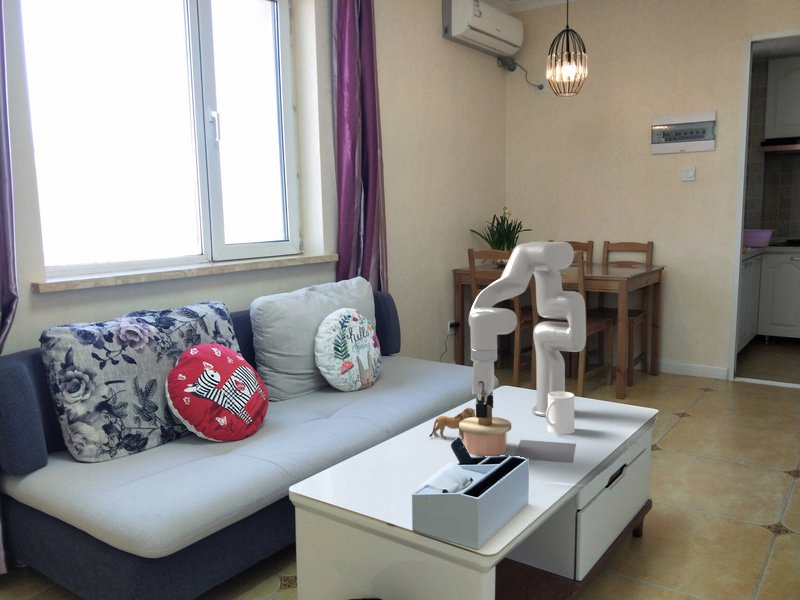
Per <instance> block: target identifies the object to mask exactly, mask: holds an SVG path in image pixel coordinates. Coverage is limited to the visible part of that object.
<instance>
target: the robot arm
mask: <svg viewBox="0 0 800 600" xmlns="http://www.w3.org/2000/svg"><path fill="white" fill-rule="evenodd" d="M574 257H575V251H574V248H573V246H572V244H570V243H569V242H568V241H567V242H566V241H530V242H526V243H519V244H518V245H516V246H515V247H514V248H513V250H512V251H511V254H510V257H509V259H508V261H507V263H506V264H505V268H504V269H503V271H502V273H501V275H500V278H499V279H497V280H495V281H493V282H492V283H490V284H489V285H488V286H486V287H485V288H484V289H483V290H481V291H480V293H478V295H477V296H476V298H475V300H474V302H473V304H472V306H471V309H470V311H469V313H468V314H469V315H468V326H469V327H470V360H471V361H472V362H473V365H472V385H471V386H472V388H471V393H472V396H475V397H476V398H475V417H477V418H487V405H489V406H492V409H494V389H495V362H497V360H498V335H509V334H511V333H512V332H514V331H515V329H516V328H517V325H518V318H517V314H516V313H515V311H513V310H511V309H510V308H503V307H502V308H501V307H493V306H495V305H496V304H498V303H499V302H503V301H505V300H508V299H511V298H515V297H517V296H519V295H521V294H523V293H524V292H526V290H527V289H528V285H529V283H530V281H531V278H532V277H533V276H534V279H535V296H536V298H535V299H536V308H537V309H536V310H537V314H538V315H539V316H540V317H542V318H545V319H551V320H553V319H554V320H566V321H567V322H561V321H541V322H539V323H538V324H536V325H535V326H534V328H533V332H532V333H533V334H532V335H533V343H534V348H535V357H536V358H535V359H536V360H535V361H536V363H535V364H536V405H535V406H532V408H531V413H532V414H534V415H536V416H540V417H543V418H544V417H545V418H546V411H547V408H548V393H550V392H557V391H562V392H566V386H565V385H566V384H565V382H566V376H565V375H566V374H565V373H566V372H565V371H566V364H565V363H566V362H565V359H564V357H563V355H562V354H561V352H571V353H572V352H574V353H578V352H581V351H583V350H584V349H585V347H586V341H587V322H586V321H587V320H586V319H587V318H586V302H585V299H584V297H583V295H582V294H581V293H580V292H577V291H574V290H571V291H570V290H563V285H562V275H561V272H560V270H565V269H567V268H569V267H570V266H571V265H572V263H573V262H574V259H575V258H574ZM560 351H561V352H560Z"/></svg>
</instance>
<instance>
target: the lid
mask: <svg viewBox="0 0 800 600" xmlns="http://www.w3.org/2000/svg"><path fill="white" fill-rule="evenodd" d="M459 428H460V429H461V430H462V431H464V432H466V433H470V434H475V435H497V434H502V433H506V432H507V433H508V432H509V431H511V430H512V422H511V421H510V420H508V419H506V418H502V417H499V416H498V417H497V416H493V408H492V406H489V405H487V418H477V417H476V416H475V417H470V418H466V419H464V420H462V421H460V423H459ZM459 428H458V429H459Z"/></svg>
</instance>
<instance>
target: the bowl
mask: <svg viewBox="0 0 800 600" xmlns="http://www.w3.org/2000/svg"><path fill="white" fill-rule="evenodd" d="M507 433H508V432H506V433H502V434H497V435H475V434H470V433H466V432H464V439H463V446H464V445H465V446H466V448H467V450H468V451H469V453H468V454H471V455H474V456H479V457H480V456H481V457H488V456H487V455H493V456H499V455H501V454H503V453H504V454H505V453H506V452H507V449H508V448H507V446H508V443H507V440H508V437H507V435H508V434H507Z"/></svg>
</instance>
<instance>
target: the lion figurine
mask: <svg viewBox="0 0 800 600" xmlns="http://www.w3.org/2000/svg"><path fill="white" fill-rule="evenodd" d="M470 417H476V409H474V408H473V407H472V408H471V407H466V408H464V409H463V411H462V412H460V413H458V414H457V415H455V416H447V415H441V416H438V417H437V418H435V421H434V423H433V426H432V432H431V433H430V434H429V436H428V437H430V438H431V437H432V436H435V437H437V436H440V437H441V439H442V440H446V439H447V436H444V431H445V428H446V427H447V428H448V429H451V430H456V429H457V430H458V435H459V436H460V437H461V439H463V440H464V431H462V430H461V429H460V428H459V423H460V421H462V420H464V419H466V418H470ZM438 431H439V434H438V433H437V432H438Z"/></svg>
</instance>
